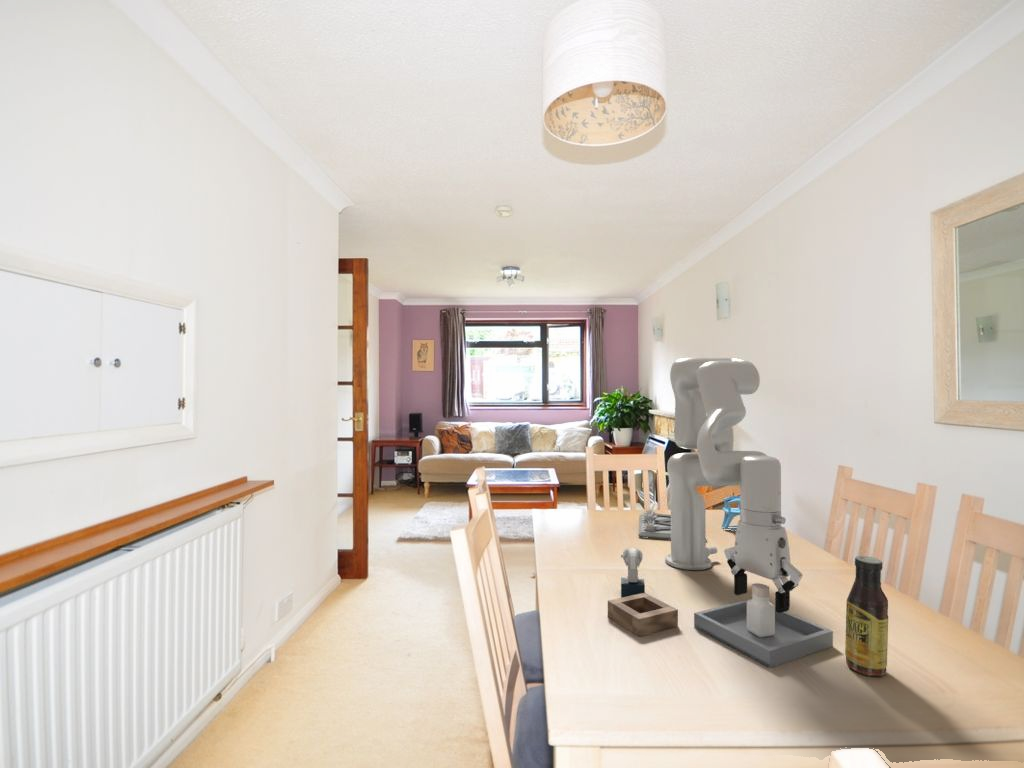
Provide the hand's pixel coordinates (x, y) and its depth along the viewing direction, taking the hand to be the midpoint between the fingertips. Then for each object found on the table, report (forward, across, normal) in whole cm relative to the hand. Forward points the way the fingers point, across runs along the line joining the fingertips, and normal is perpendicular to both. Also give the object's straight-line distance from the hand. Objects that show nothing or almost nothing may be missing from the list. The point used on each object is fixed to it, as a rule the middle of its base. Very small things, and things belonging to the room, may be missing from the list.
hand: (760, 602), depth 106 cm
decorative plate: (+8, +71, -42) cm, 83 cm away
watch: (+7, +29, +9) cm, 31 cm away
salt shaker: (+6, 0, 0) cm, 6 cm away
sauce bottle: (+7, -17, -6) cm, 19 cm away
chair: (+7, +60, -62) cm, 87 cm away
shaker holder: (+7, +16, +17) cm, 24 cm away
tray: (+7, 0, 0) cm, 7 cm away
